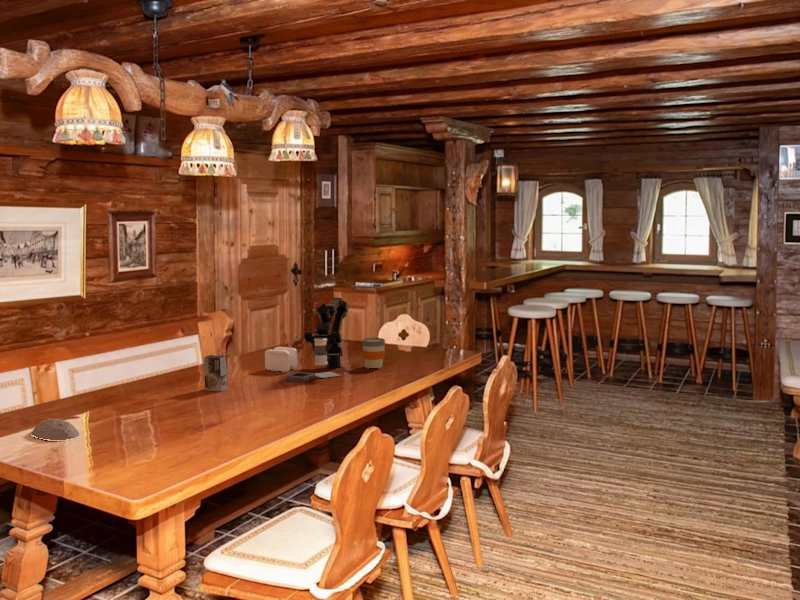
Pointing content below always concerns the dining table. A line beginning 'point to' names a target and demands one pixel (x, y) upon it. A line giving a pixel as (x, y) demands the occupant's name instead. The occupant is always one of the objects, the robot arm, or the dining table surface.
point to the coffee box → (215, 373)
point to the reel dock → (300, 377)
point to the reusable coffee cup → (373, 352)
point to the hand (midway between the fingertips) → (320, 350)
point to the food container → (55, 430)
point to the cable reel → (320, 351)
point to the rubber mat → (326, 374)
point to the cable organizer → (281, 359)
